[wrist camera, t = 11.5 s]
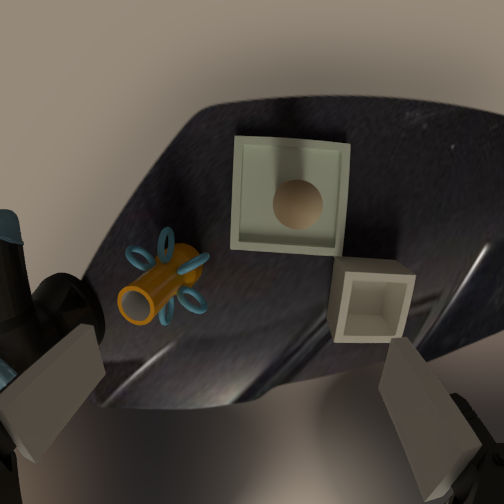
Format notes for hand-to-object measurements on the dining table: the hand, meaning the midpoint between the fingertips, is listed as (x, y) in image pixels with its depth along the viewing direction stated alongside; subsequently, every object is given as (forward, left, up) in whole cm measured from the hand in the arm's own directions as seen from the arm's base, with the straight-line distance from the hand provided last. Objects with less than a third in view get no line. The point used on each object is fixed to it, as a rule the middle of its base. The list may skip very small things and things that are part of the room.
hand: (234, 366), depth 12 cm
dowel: (+3, +6, -27) cm, 28 cm away
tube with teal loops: (-11, -4, -28) cm, 31 cm away
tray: (+3, +6, -28) cm, 29 cm away
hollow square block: (+14, -6, -28) cm, 32 cm away
